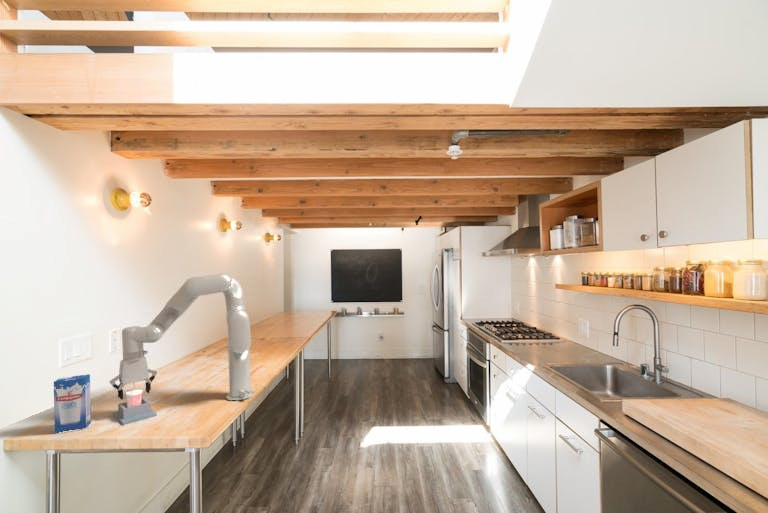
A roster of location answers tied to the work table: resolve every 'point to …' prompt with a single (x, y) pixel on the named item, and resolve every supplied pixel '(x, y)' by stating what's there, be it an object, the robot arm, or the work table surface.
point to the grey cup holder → (134, 412)
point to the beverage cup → (134, 397)
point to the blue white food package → (72, 403)
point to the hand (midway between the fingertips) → (134, 395)
